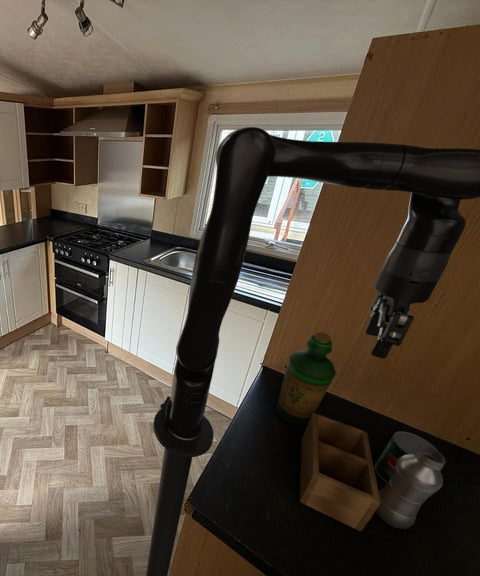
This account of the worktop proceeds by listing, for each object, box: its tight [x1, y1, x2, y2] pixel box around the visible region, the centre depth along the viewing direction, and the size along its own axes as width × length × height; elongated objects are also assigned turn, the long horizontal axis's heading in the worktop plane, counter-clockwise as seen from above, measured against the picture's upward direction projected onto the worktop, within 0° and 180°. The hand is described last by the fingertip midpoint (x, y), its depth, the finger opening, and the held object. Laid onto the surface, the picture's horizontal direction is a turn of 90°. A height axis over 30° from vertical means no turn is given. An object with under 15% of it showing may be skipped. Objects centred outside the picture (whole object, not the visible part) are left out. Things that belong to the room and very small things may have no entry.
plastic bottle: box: [375, 446, 447, 530], centre depth 63 cm, size 6×7×20 cm
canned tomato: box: [374, 430, 439, 484], centre depth 72 cm, size 8×8×11 cm
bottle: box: [276, 332, 337, 427], centre depth 85 cm, size 11×11×28 cm
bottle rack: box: [299, 412, 381, 532], centre depth 72 cm, size 11×19×10 cm, turn 148°
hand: (374, 344), depth 63 cm, fingers open, 8 cm apart
